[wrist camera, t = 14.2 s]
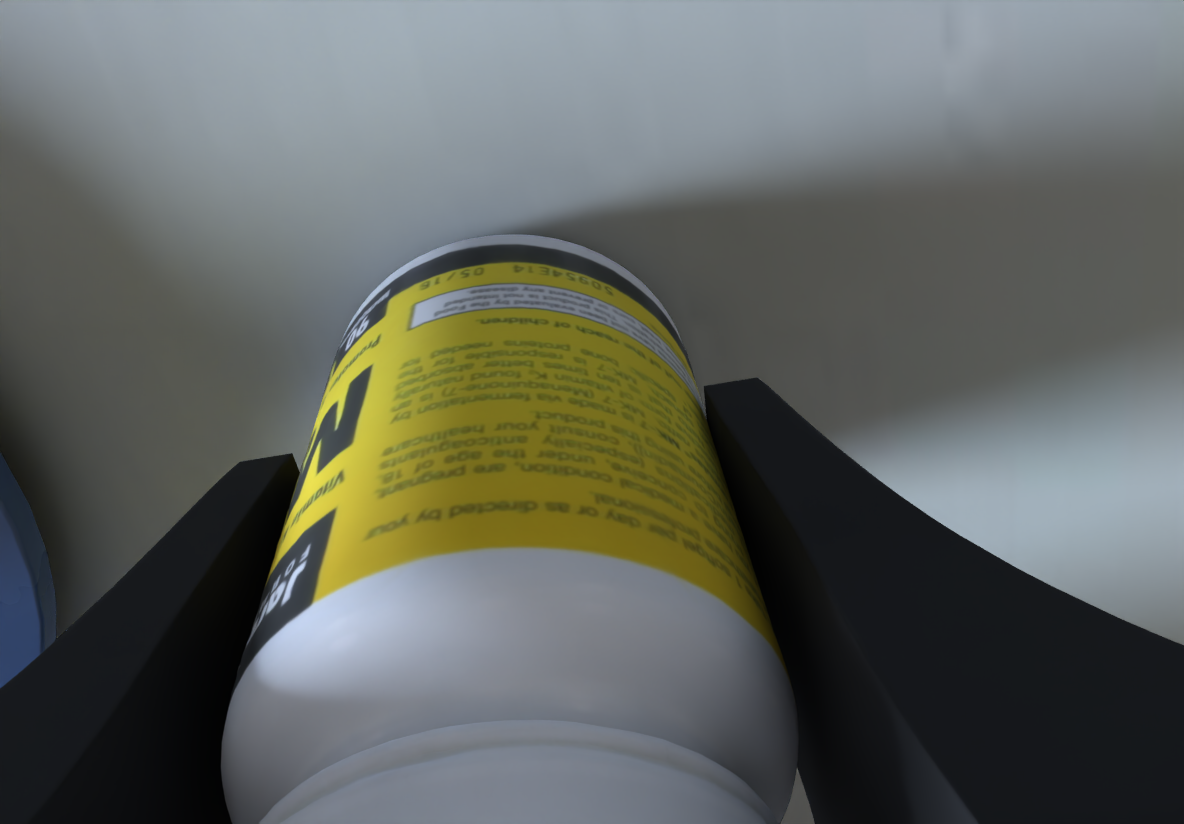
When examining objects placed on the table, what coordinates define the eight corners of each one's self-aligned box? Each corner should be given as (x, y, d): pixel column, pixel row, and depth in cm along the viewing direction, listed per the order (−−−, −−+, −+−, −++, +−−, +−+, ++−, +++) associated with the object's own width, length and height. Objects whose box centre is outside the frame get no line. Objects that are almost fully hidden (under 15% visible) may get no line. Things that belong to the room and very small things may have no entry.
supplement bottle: (327, 208, 11) (20, 899, 4) (714, 236, 12) (1028, 884, 5) (341, 522, 14) (168, 1278, 7) (659, 532, 14) (808, 1239, 7)
